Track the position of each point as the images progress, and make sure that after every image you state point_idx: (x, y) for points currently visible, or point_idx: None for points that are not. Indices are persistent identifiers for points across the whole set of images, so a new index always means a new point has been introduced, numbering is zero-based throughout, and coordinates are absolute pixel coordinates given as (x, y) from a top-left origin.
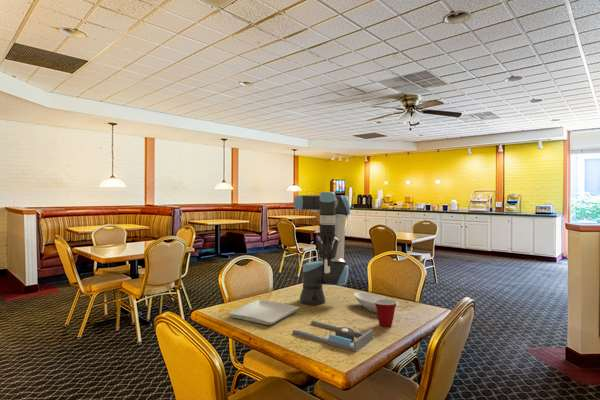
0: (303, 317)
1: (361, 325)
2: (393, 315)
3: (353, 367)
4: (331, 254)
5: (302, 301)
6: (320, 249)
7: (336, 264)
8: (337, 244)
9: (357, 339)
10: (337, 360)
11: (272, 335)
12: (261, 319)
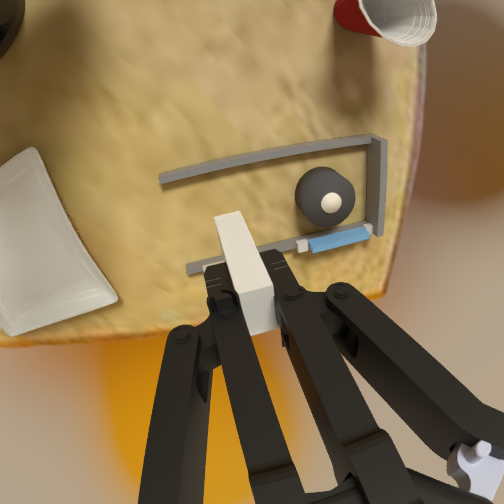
0: (89, 158)
1: (294, 57)
2: (396, 9)
3: (387, 271)
4: (350, 357)
5: None
6: (206, 438)
7: None
8: (470, 405)
9: (380, 223)
10: (356, 276)
11: (165, 309)
12: (51, 280)
